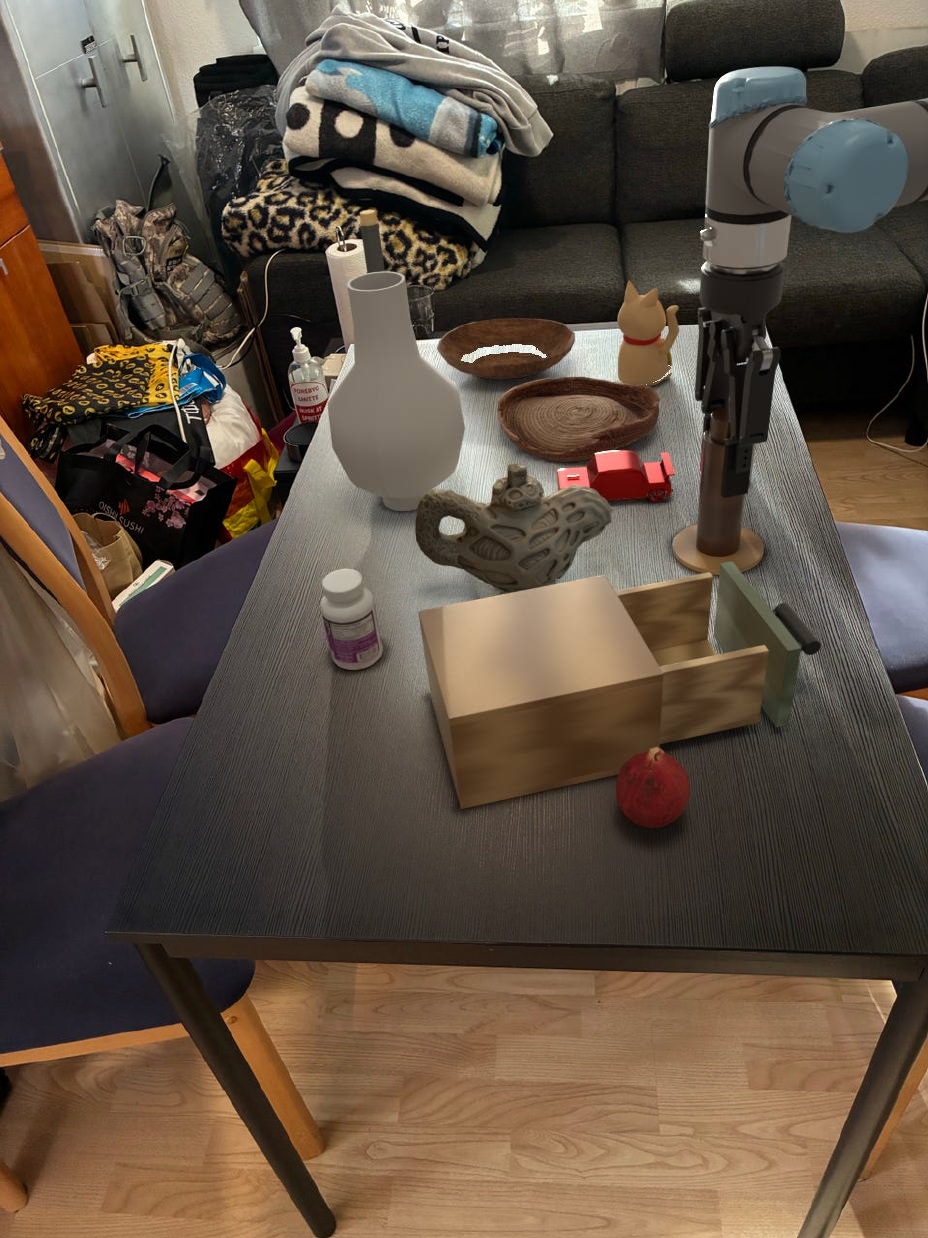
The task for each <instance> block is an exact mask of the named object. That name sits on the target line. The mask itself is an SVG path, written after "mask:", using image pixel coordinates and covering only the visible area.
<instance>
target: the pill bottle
mask: <svg viewBox="0 0 928 1238" xmlns="http://www.w3.org/2000/svg"><path fill="white" fill-rule="evenodd" d="M321 586H322V593H323V595H324V596H323V597H322V599H321V602H320V613H321V617H322V621H323V625H324V630H325V634H326V638H327V642H328V648H329V652H330V656H331V658H332V660H333V662H334V663H335V664H336V665H337V667H339V668H341V669H343V670H344V669H345V670H349V671H358V670H363V669H366V668H369V667H371V666H372V665H374V664H375V663H377V661H378V660H379V659H380V658H381V657H382V654H383V650H384V647H383V642H382V636H381V631H380V626H379V620H378V616H377V615H378V614H377V610H376V605H375V599H374V596H373V594H372V592H371V591H370V590H369V589H368V588H366V587H365V583H364V577H363V575H362V573H360V571H358V570H356V569H353V568H341V569H336V570H333V571H331V572H329V573H328V574H327V575H325V576H324V577H323V579H322V581H321Z"/></svg>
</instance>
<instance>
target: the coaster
mask: <svg viewBox="0 0 928 1238" xmlns="http://www.w3.org/2000/svg"><path fill="white" fill-rule="evenodd" d="M696 533H697V523H696V524H695V523H694V524H693V525H690V526H687V527H685V528H683V529H682V530H680V531H679V532H677V534H676V535H675V537H674V538H673V541H672V549H671V550H672V553H673V556H674V558H675V559H676V560H677V561H678V562H679V563H680V564H682V566H684V567H686V568H687V569H690V570H692V571H695V572H698V573H700V574H703V573H708V572H710V573H711V574H712V576H719V574H720V564H721V563H726V562H731V561H732V562H733V563H734V564H735V565H736V567H737V568H738V569H739V571H740V572H741V573H744V572H747V571H749V570H751V569H753V568H755V567H756V566H758V564H759V563H760V562H761V561H762V559H763V557H764V554H765V553H764V552H765V545H764V542H763V540H762V539H761V537H760V536H759V535H757V533H755V532H754V531H752V530H751V529H749V528H746V527H745V526H742V528H741V537H740V546H739V549H738V551H737V552H736V553H734V554H732V555H729V556H725V557H713V556H709V555H706V554H703V553H702V552H700V551H699V550H698V549H697V547H696Z"/></svg>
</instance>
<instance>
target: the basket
mask: <svg viewBox="0 0 928 1238" xmlns="http://www.w3.org/2000/svg"><path fill="white" fill-rule="evenodd" d="M660 399H661V398H660V396H659V394H658V393H657V392H656V391H655V389H654V388H653V387H652V386H646V385H642V384H641V385H634V384H625V383H622V382H616V381H611V380H606V379H599V378H593V377H588V376H587V377H586V376H561V377H558V378H556V377H555V378H554V377H547V378H539V379H534V380H531V381H528V382H525V383H521V384H518V385H515V386H513V387H512V388H510V389H509V390H507V391H505V393H503V394H502V396H501V397H500V398H499V399H498V401H497V407H496V412H497V419H498V422H499V426H500V428H501V430H502V431H503V433H504V435H505V436H506V437H507V438H508V439H509V440H510V441H511V442H512V443H513V444H514V445H515V446H517V447H518V448H519V449H521V450H522V451H523V452H526V453H528V454H530V455H533V456H535V457H538V458H539V459H543V460H550V461H553V462H556V463H569V462H580V461H585V460H589V459H592V457H593V456H594V454H595V453H600V452H605V451H615V450H616V449H620V448H622V447H625V446H628V445H630V444H632V443H634V442H637V441H638V440H640V439H642V438H644V437H645V436H646V437H647V436H648V435H649V434H650V432H652V431H653V430H654V428H655V427H656V426H657V423H658V420H659V416H660V402H661V401H660Z"/></svg>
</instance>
